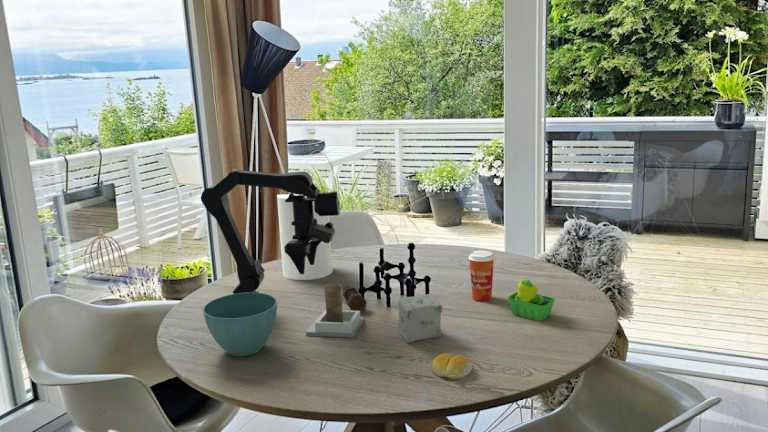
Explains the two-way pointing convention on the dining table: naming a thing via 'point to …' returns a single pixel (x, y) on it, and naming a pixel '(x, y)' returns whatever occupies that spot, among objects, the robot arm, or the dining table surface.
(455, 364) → the bread roll
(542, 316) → the fruit basket
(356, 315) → the white tray
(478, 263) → the paper cup
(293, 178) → the robot arm
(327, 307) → the walnut cylinder
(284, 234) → the cylinder
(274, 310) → the teal bowl
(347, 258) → the dining table surface
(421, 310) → the light grey box
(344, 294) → the bolt
